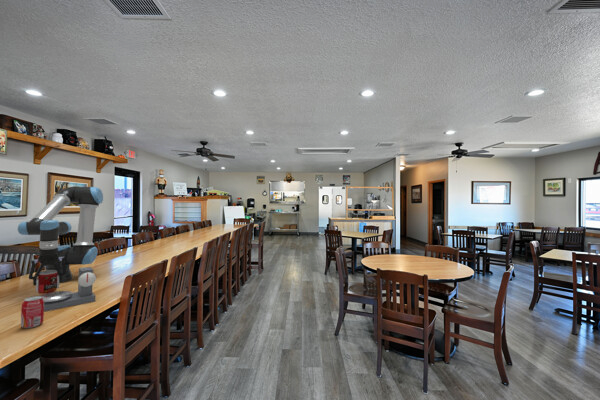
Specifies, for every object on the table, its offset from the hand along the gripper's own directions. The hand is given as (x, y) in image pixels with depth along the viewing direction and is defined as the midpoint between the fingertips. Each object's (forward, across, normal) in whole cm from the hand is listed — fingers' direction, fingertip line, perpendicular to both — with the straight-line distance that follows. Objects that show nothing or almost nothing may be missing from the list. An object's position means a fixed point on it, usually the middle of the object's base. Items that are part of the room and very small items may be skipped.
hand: (47, 289), depth 146 cm
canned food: (+1, 0, 0) cm, 1 cm away
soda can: (+5, -7, -38) cm, 39 cm away
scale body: (+5, +6, -15) cm, 16 cm away
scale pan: (+2, +2, -15) cm, 15 cm away
